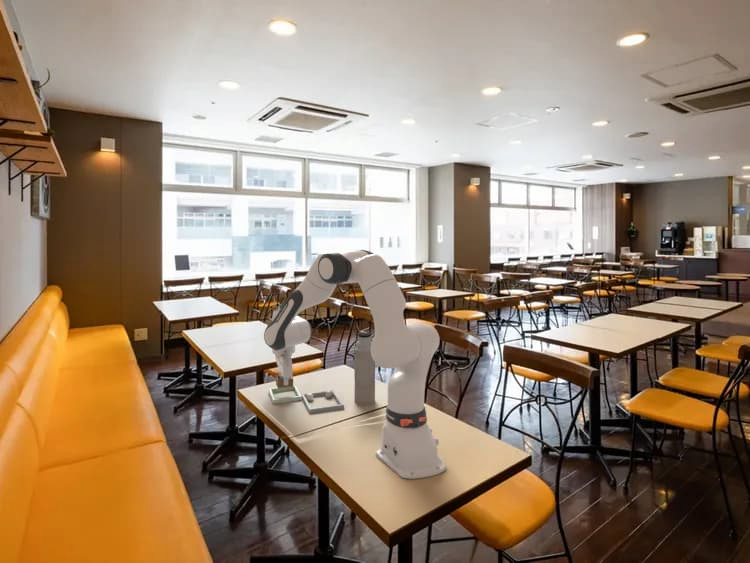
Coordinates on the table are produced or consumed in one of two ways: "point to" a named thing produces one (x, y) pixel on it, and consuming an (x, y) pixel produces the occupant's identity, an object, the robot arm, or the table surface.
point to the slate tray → (326, 408)
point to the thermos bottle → (364, 371)
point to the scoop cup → (280, 382)
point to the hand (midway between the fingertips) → (284, 381)
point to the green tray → (281, 390)
